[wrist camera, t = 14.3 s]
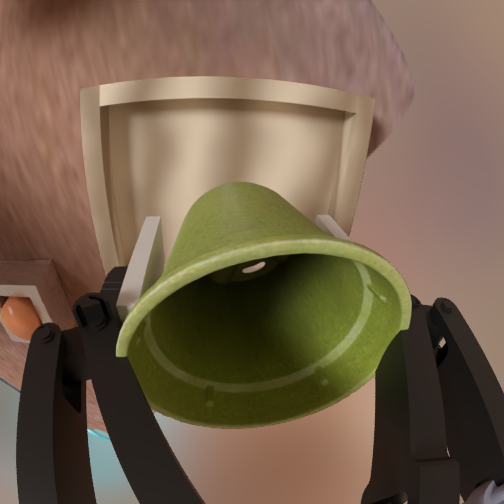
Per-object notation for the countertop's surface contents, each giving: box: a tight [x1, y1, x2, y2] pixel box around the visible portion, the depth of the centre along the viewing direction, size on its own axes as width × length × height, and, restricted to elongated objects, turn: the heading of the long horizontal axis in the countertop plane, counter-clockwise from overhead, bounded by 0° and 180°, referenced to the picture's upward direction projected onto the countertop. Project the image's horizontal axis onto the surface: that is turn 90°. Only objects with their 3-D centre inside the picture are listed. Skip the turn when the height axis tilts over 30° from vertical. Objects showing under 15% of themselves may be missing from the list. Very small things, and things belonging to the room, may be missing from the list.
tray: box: [80, 76, 376, 276], centre depth 22 cm, size 21×17×4 cm
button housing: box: [0, 259, 75, 343], centre depth 24 cm, size 9×9×4 cm
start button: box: [0, 296, 42, 340], centre depth 22 cm, size 5×5×3 cm
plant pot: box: [116, 182, 412, 429], centre depth 12 cm, size 9×9×9 cm
